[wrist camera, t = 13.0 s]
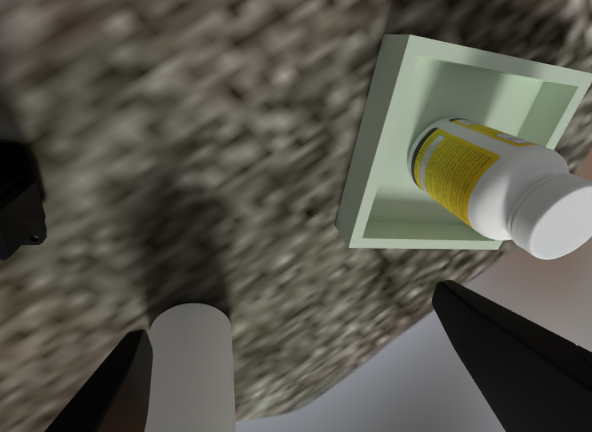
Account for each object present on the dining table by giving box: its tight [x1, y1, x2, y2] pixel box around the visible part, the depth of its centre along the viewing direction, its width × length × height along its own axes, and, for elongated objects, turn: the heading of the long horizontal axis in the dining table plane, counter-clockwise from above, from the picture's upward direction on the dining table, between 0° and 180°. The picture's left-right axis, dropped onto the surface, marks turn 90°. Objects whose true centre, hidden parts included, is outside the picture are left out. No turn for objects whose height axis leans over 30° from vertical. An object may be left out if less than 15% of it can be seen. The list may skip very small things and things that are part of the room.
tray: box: [335, 34, 592, 250], centre depth 22 cm, size 13×13×3 cm
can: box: [145, 303, 236, 432], centre depth 22 cm, size 6×6×12 cm
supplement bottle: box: [408, 117, 592, 259], centre depth 18 cm, size 5×5×10 cm
